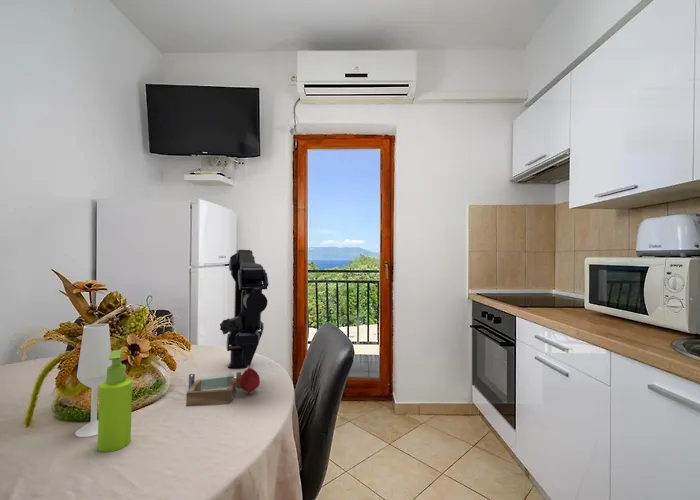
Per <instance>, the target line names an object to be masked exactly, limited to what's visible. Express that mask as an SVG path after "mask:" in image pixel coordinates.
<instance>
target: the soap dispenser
mask: <svg viewBox="0 0 700 500" xmlns="http://www.w3.org/2000/svg"><path fill="white" fill-rule="evenodd" d="M123 352H124V349H116V350H115V349H114V350H111V354H110V356H109V360H112V365H110V366H109V367H108V368H107V380H106V381H105V382H104V383H102V384H100V385H99V387H98V412H97V420H98V434H97V450H98V452H102V453H108V452H109V453H111V452H116V451H119V450H121V449H123V448H125V447H126V446H128V445H129V444H130V443H131V438H132V437H131V436H132V433H131V432H132V406H133V405H132V404H133V403H132V401H133V380H132V379H131V378H127V377H126V373H127V372H126V370H127V367H126V366H127V365H126V364H124V363H122V356H123V355H122V354H123Z"/></svg>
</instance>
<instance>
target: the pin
mask: <svg viewBox="0 0 700 500" xmlns="http://www.w3.org/2000/svg"><path fill="white" fill-rule="evenodd" d="M195 376H196V374H195V373H191V374H188V390H189V389H190V388H191V386H192V385H193V384H194V383H195V381H196V380H195V379H196V378H195Z"/></svg>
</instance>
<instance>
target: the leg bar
mask: <svg viewBox="0 0 700 500" xmlns="http://www.w3.org/2000/svg"><path fill="white" fill-rule="evenodd" d="M232 378H235V375H234V373H228V374H222V375H214V376H204V377H197V378H196V380H199V379H201V391H204V390H203V389H205V390H213V389H218V387H221V388H227V387H226V386H229V384H230V382H231V380H232ZM212 388H213V389H212Z"/></svg>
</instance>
